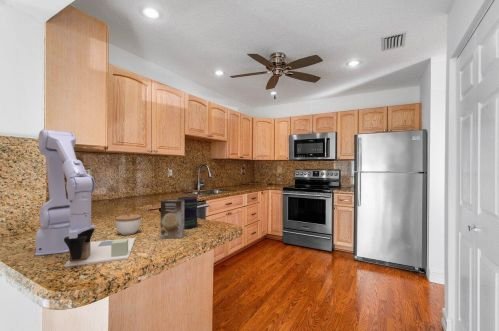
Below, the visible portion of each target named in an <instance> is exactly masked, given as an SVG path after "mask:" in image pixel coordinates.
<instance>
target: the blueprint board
mask: <svg viewBox="0 0 499 331" xmlns="http://www.w3.org/2000/svg"><path fill="white" fill-rule="evenodd" d="M113 240H114V239H108V240H97V241H90V256H89V258H88V259H87V260H83V261H74V262H70V259H68V260H67V261H66V263H65V264H63V268H68V267H74V266H75V267H76V266H83V265H84V266H85V265H91V264H101V263H107V262H108V263H109V262H115V261H124V260H129V257H130V255H131V252H132V249H133V247H134V244H135V241H136V237H128V253H127V255H125V256H117V257H111V243H112V242H113Z"/></svg>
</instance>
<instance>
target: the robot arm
mask: <svg viewBox="0 0 499 331" xmlns="http://www.w3.org/2000/svg"><path fill="white" fill-rule="evenodd" d="M37 138H38V139H37V141H38V144H37V145H38V151H39V154H41V155H43V156H44V158H45V162H46V163H45V165H46V174H47V175H46V177H47V185H48V186H47V187H48V197H49V200H48V201H46V202H45V203H44V204H42V205H41V206H40V208H39V218H38V220H39V224H40V226H41V227H40V228H38V230H37V231H36V236H35V254H34V256H45V255H54V254H55V255H56V254H62V253H63V254H65V253H68V252H69V255H70V254H71V258H72V260H75V259H80V258H81V256H82V250H83V245H84V243H85V242H91V239H92V236H93V234H94V232H95V230H96V225H95V224H92V194H93V193H94V192H95V188H96V182H95V179H94V177H93V176H92V175H90V174H89V173H87V171H86V169H85V167H84V164H83V162H82V161H81V160H80V159H77V156H76V151H75V146H76V142H77V138H76V135H75V133H74V132H72V131H69V132H67V131H59V130H58V131H57V130H50V129H44V128H43V129H41V130H40V131H39V133H38V137H37ZM65 179H66V184H65ZM66 192H67V195H66Z"/></svg>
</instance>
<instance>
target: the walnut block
mask: <svg viewBox="0 0 499 331" xmlns="http://www.w3.org/2000/svg"><path fill="white" fill-rule="evenodd" d="M90 242H91V241H90ZM90 242H85V243H84V245H83V250H82V256H81V258H80V259H75V260H72V258H71V254H70V253H69V260H70V262H74V261H83V260H87V259H88V258H89V256H90Z"/></svg>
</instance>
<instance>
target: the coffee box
mask: <svg viewBox="0 0 499 331" xmlns="http://www.w3.org/2000/svg"><path fill="white" fill-rule="evenodd" d="M159 232H160V233H159V234H160V235H159V236H160V237H159V238H160V239H181V238H183V236H184V235H185V229H184V200H180V199H178V198H177V199H175V198H174V199H171V198H169V199H168V198H166V199H163V200H161V201H160V230H159Z"/></svg>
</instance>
